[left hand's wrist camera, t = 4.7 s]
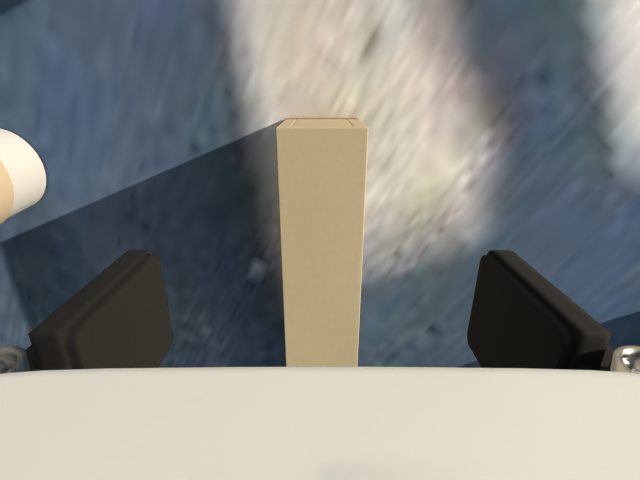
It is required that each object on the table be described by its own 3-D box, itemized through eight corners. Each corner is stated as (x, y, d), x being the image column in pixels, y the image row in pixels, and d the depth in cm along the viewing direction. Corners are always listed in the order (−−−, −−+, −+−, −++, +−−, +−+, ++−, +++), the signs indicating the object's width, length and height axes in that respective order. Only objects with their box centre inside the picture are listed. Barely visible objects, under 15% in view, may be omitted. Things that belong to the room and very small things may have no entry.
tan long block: (349, 338, 38) (355, 397, 31) (293, 338, 38) (287, 397, 31) (356, 118, 30) (368, 127, 23) (286, 118, 30) (275, 127, 23)
